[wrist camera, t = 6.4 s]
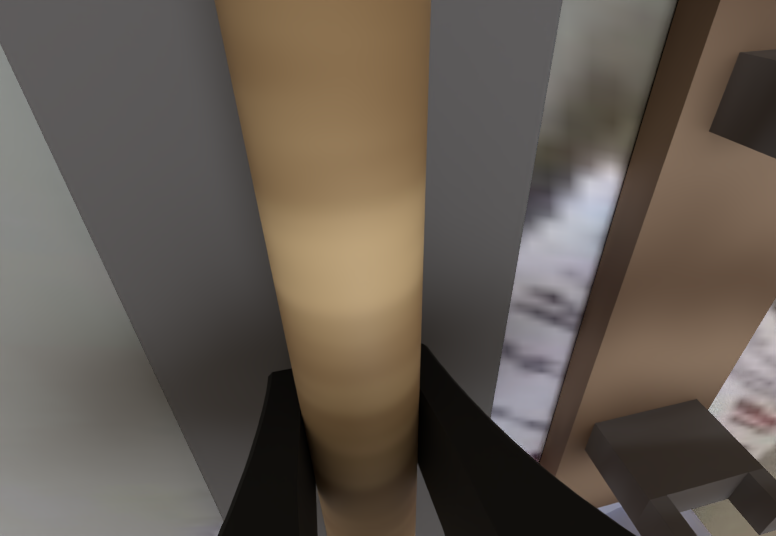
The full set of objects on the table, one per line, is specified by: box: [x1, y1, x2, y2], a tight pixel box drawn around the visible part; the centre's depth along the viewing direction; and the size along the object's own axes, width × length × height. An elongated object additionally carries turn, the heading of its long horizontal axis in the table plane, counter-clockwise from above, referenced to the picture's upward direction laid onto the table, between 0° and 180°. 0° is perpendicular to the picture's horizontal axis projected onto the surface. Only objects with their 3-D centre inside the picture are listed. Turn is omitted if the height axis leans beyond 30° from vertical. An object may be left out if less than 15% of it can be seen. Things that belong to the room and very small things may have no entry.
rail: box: [214, 0, 431, 536], centre depth 10 cm, size 18×2×2 cm, turn 1°
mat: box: [0, 0, 562, 536], centre depth 12 cm, size 24×9×1 cm, turn 1°
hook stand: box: [540, 0, 776, 536], centre depth 12 cm, size 24×6×5 cm, turn 1°
